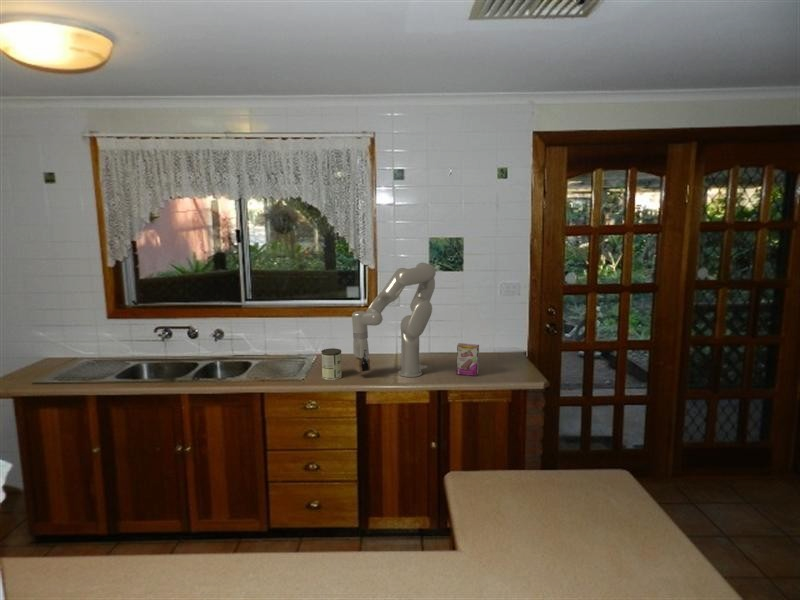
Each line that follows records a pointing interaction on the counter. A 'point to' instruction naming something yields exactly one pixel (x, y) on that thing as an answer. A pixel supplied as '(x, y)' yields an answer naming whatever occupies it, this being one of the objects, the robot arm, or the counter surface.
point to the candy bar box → (467, 359)
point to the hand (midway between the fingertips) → (362, 368)
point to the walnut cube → (360, 364)
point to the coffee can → (331, 364)
